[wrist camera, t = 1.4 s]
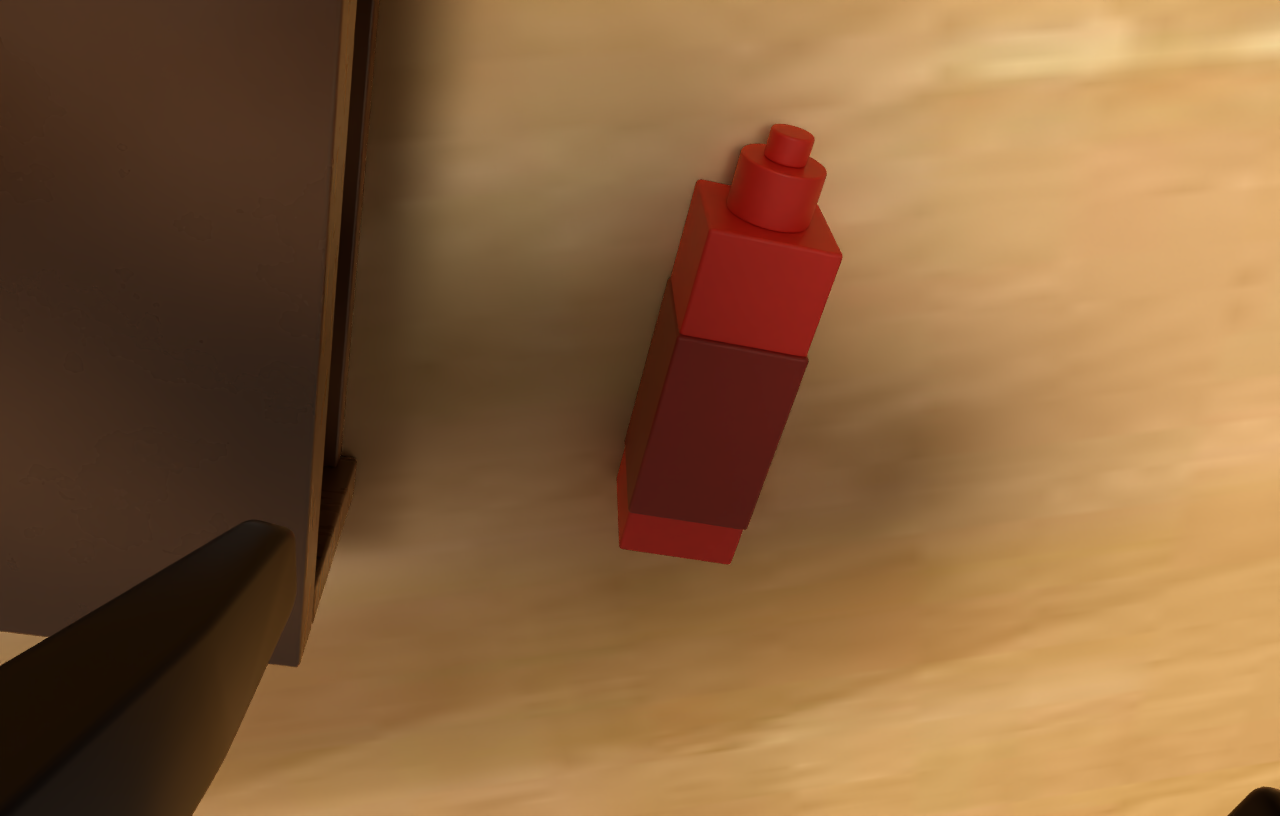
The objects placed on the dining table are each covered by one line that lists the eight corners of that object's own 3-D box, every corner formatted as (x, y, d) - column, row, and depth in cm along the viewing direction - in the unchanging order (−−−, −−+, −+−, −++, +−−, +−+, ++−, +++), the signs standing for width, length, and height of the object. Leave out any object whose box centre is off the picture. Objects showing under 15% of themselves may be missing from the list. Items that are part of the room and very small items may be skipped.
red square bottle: (720, 495, 27) (733, 569, 25) (613, 478, 26) (616, 552, 24) (847, 124, 22) (880, 173, 19) (716, 95, 21) (732, 141, 19)
